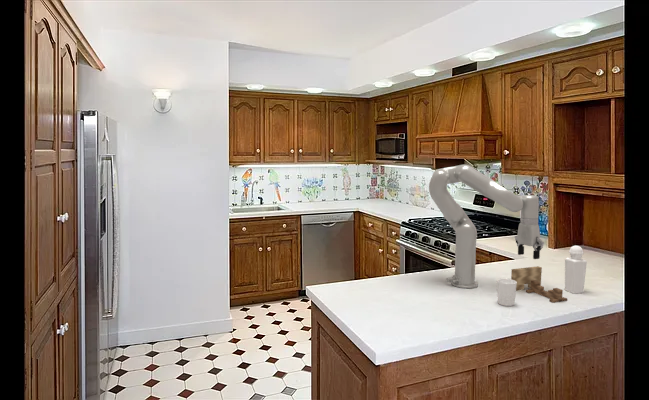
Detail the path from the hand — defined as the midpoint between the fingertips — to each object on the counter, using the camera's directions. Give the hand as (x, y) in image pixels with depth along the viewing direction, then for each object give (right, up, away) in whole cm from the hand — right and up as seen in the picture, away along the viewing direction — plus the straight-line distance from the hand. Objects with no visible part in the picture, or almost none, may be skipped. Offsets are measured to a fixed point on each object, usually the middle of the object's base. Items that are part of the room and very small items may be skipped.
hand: (528, 256), depth 210 cm
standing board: (+3, -17, -9) cm, 20 cm away
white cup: (-19, -18, -19) cm, 32 cm away
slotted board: (0, -16, +2) cm, 16 cm away
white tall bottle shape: (+20, -16, -3) cm, 26 cm away
